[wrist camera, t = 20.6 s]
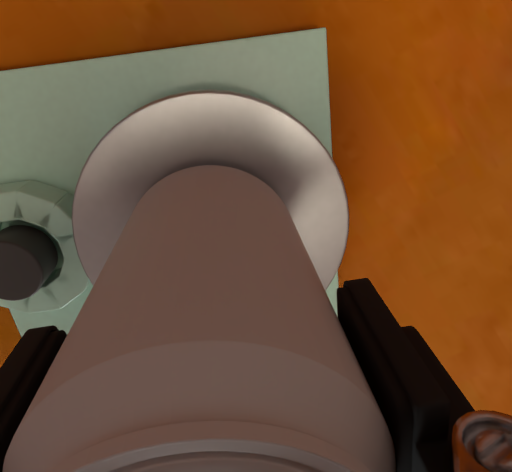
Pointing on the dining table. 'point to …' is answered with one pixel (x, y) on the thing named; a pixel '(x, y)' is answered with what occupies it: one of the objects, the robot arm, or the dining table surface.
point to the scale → (113, 111)
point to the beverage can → (205, 349)
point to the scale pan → (210, 153)
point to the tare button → (24, 261)
